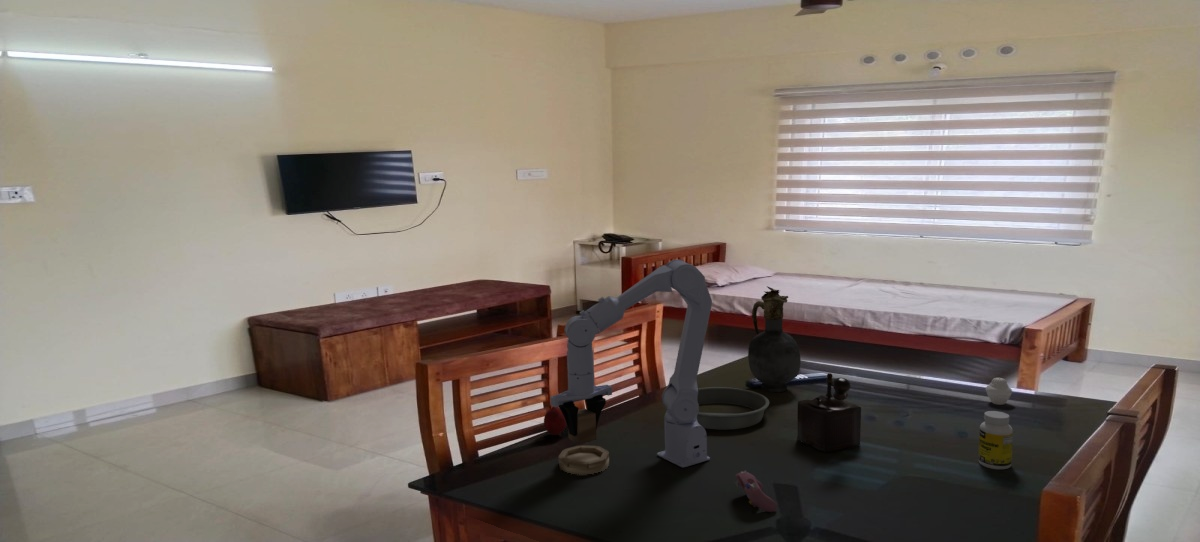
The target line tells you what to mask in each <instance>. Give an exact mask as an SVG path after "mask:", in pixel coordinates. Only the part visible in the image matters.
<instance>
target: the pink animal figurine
mask: <svg viewBox="0 0 1200 542" xmlns="http://www.w3.org/2000/svg"><path fill="white" fill-rule="evenodd" d="M735 478H736V481H735V485H736V487H738V488H739V487H741V488H742V490H743V491H744V493H745V495H746V497H747V498H748V503H749V504H750V505H752V506H753V508H754V507H755V508H759V509H761V510H762V511H765V512H768V513H774V512H775V511H777V508H778V505H777V503H776V502H775V500H774V499H772V498H771V497H769V496H768V495H766V494H765V493H764V491H763V490H764V485H763V484H762V483H761V482H760V480H758V479H757V477H756V476H755V475H753V474H752V473H750V472H748V471H747V470H746V469H745V470H744V471H740V472H738V473H736V474H735Z"/></svg>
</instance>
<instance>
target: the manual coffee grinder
mask: <svg viewBox="0 0 1200 542" xmlns="http://www.w3.org/2000/svg"><path fill="white" fill-rule="evenodd" d="M833 377H834V376H833V374H832V373H831V372H828V373H827V375H826V380H825V383H827V391H826V394H821V395H818V396H816V397H814V398H809V399H804V400H802V399H801V400H798V401H797V438H796V439H797V440H798V441H799V440H800V442H801V441H802V443H803V442H804V443H803V444H805V445H807V446H809V447H810V448H813V447H814V448H813V449H815V450H817V451H820V452H824V453H833V452H834V453H836V452H839V451H840V450H841V451H844V450H849V448H850V449H853V447H854V448H857V447H859V445H860V446H861V430H862V429H861V428H862V427H861V426H862V425H861V424H862V423H861V421H862V407H861V406H859V405H856V404H855V403H852V402H849V401H846V399H848V398H849V397H848V396H849V394H848V392H849V390H851V386H852V385H851V382H850V380H849V379H847V378H844V377H837V378H834V379H832V378H833ZM832 387H833V389H834V392H833V393H832ZM856 446H857V447H856ZM835 451H836V452H835ZM841 451H840V452H841Z"/></svg>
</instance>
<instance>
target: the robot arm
mask: <svg viewBox="0 0 1200 542" xmlns="http://www.w3.org/2000/svg"><path fill="white" fill-rule="evenodd" d="M673 289H674V290H675V291H676V292H677V293H678V294H679V295H680V296H681V298H682V299H683V301H684V302H685V303H686V305H687V306H686V311H685V316H684V321H683V322H684V323H683V326H682V331H681V336H680V341H679V347H678V351H677V355H676V356H677V357H676V362H675V367H674V371H673V373H672V375H671V376H670V377H669V380H668V384H667V386H666V388H665V389H664V390H663V392H662V395H661V401H662V404H663V406H664V407H665V408H666V411H665V414H664V416H663V420H664V423H663V424H664V425H663V426H664V429H663V430H664V450H662V451H659V452H657V453H656V455H657V456H659V457H660V458H662V459H664V460H666V461H668V462H670V463H672V464H674V465H676V466H678V467H680V468H682V469H683V468H688V467H689V466H693V465H696V464H700V463H703V462H706V461H710V459H711V457H710V456H709V455H708V441H707V440H708V434H707V431H706V428H703V427H702V426H701V425H700V424H699V423H698V421H697V415H698V412H700V405H699V404H698V401H697V396H698V381H697V378H698V375H699V374H698V373H699V369H700V364H701V358H702V354H703V348H704V344H705V340H706V336H707V335H706V334H707V330H708V326H709V325H708V324H709V320H710V316H711V315H710V314H711V310H712V306H713V305H712V304H713V300H712V297H711V294H710V292H709V291H710V290H709V288H708V286H707V283H706V276H705V275H704V274H703V273H702V272H701V270H699V269H698V267H696V266H695V265H694V264H691V263H687V262H686V261H684V260H682V259H679V258H678V259H672V260H671V261H668V263H666V264H663V265H660V266H659V267H658V268H656V269H655V270H653V271H652V272H650V273H649V274H648V275H646V276H644V277H643V278H642V279H641V280H639V281H638V282H636V283H635V284H633V285H632V286H631V287H630V288H628V289H627V290H625V291H624V292H623V293H621V294H620V295H618V296H615V297H614V296H606V297H605V298H604V297H603V296H601V297H600V298H598V299H597V301H598V302H597V303H595V304H593V305H592V306H591V307H589V308H588V309H586V310H584V309H582V310H581V311H579V315H574V316H572V317H570V318H569V319H568V320H567V322H566V324H565V327H564V329H563V330H564V334H565V336H566V337H567V338H568V339H567V343H566V347H567V351H566V360H567V361H566V365H567V390H565V391H563V392H561V393H558V394H555V395H551V396H549V397H550V399H549V401H550V406H552V407H558V408H560V410H561V412H562V414H563V416H564V418H565V420H566V423H567V426H566V427H567V431H568V430H569V434H571V435H573V436H576V435H577V414H578V410H580V409H579V407H578V406H576V404H575V402H576V403H577V402H580V401H585V403H586V409H587V410H589V411H592V412H594V413H596V431H597V428H598V425H599V421H600V416H601V414H602V411H603V409H604V408H605V405H606V404H607V399H606V398H605V397H604V396H612V395H613V389H612V388H613V387H612V386H611V385H609V384H603V385H595V365H594V363H595V362H594V361H595V360H594V359H595V358H594V350H593V341H594V340H595V337H596V335H600V334H601V333H602V332H604V331H605V330H607V329H609V328H610V327H612V326H613V325H614V324H616V323H618V322H619V321H621V320H622V319H624V315H625V312H626V310H628V309H630V308H631V307H632V306H634V305H636V304H637V303H640V302H641V301H643V300H645V299H647V298H648V297H650V296H651V295H653V294H654V293H656V292H663V293H670V292H671V293H672V292H673Z"/></svg>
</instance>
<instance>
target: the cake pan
mask: <svg viewBox="0 0 1200 542" xmlns="http://www.w3.org/2000/svg"><path fill="white" fill-rule="evenodd" d="M697 401H698V404H699V406H701V405H708V404H709V405H710V404H728V405H729V404H731V405H739V406H742V407H747V408H750V409H753V410H751V411H746V412H742V413H741V412H740V413H735V412H734V413H728V412H725V413H724V412H700V411H699V412H698V415H697V421H698V423H699V424H700V425H701V426H702V427H703V428H704V429H707V430H738V429H744V428H748V427H753V426H755V425H757V424H760V422H761V421H762V420H763V417H764V413H765V410H766V409H768V407H769V404H770V400H769V399H768V397H767V396H765V395H763V394H762V393H759V392H756V391H754V390H748V389H745V388H738V387H737V388H736V387H728V386H727V387H726V386H725V387H724V386H711V387H710V386H709V387H708V386H707V387H699V388H698V396H697Z"/></svg>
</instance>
